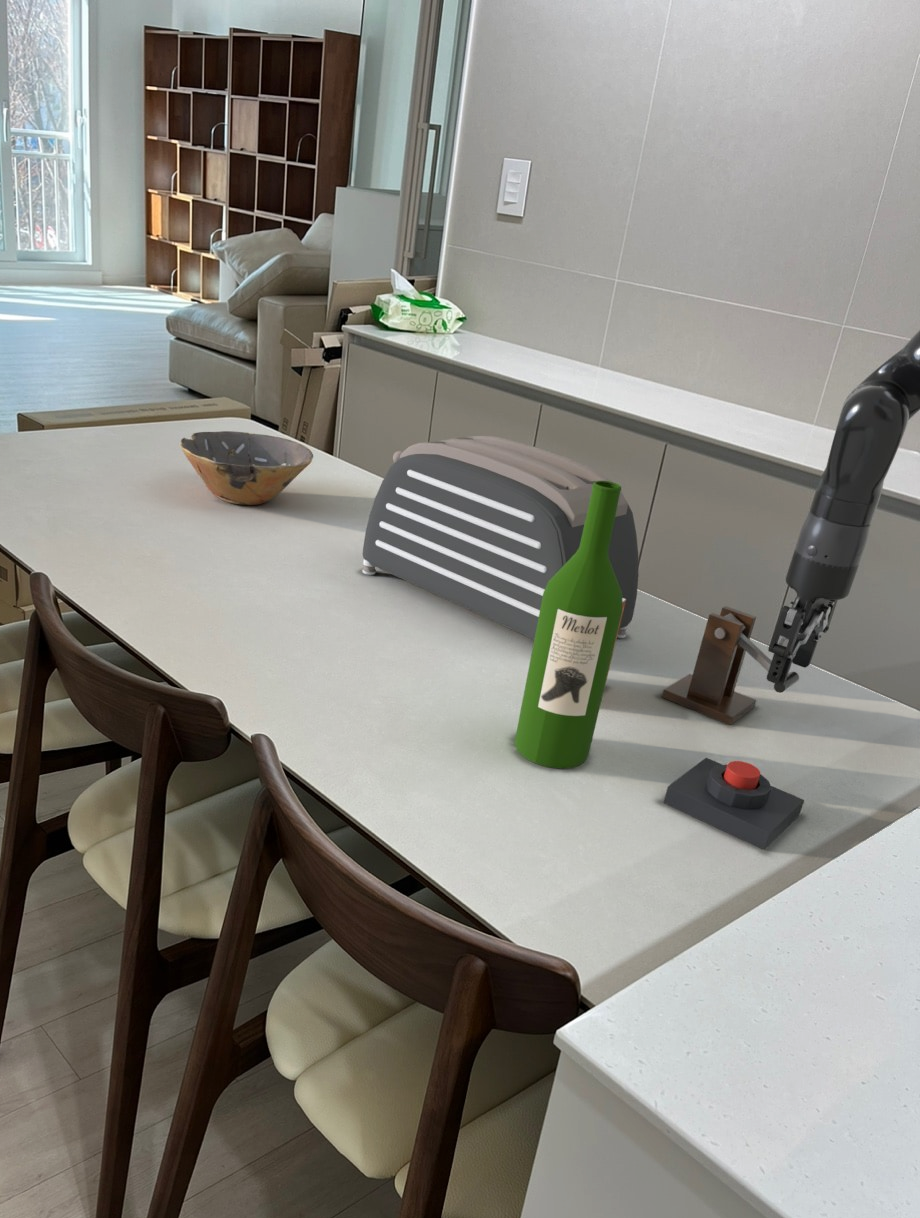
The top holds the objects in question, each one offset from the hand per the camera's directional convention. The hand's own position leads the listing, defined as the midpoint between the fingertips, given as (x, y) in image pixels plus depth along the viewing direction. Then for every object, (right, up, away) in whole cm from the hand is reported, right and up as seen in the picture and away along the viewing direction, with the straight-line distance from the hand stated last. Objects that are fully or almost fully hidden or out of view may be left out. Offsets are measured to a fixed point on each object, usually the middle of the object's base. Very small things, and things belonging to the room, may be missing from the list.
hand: (787, 673), depth 135 cm
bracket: (-7, -4, +9) cm, 12 cm away
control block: (-12, -16, -16) cm, 26 cm away
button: (-12, -13, -17) cm, 25 cm away
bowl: (-78, +36, +66) cm, 108 cm away
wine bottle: (-32, -10, -8) cm, 34 cm away
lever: (-4, +2, +3) cm, 5 cm away
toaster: (-36, +13, +33) cm, 51 cm away
